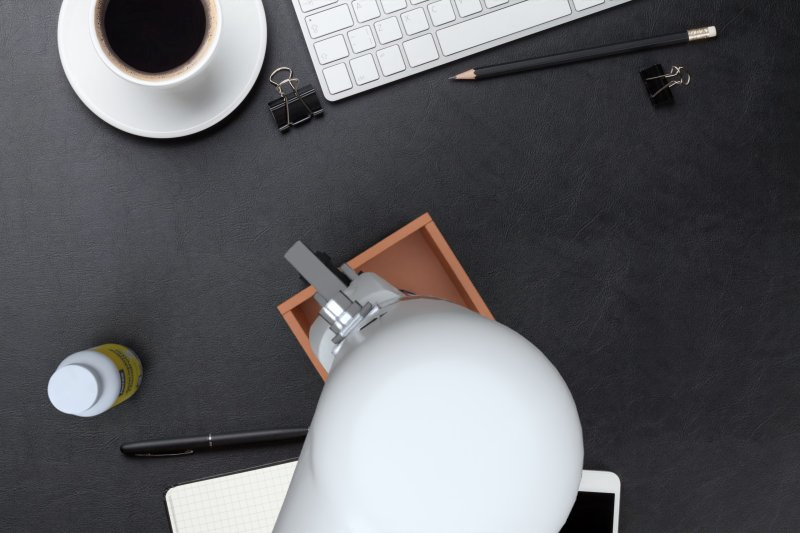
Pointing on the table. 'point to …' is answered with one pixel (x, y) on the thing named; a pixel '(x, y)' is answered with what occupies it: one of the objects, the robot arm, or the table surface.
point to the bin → (396, 277)
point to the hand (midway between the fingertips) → (402, 343)
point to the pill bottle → (95, 380)
